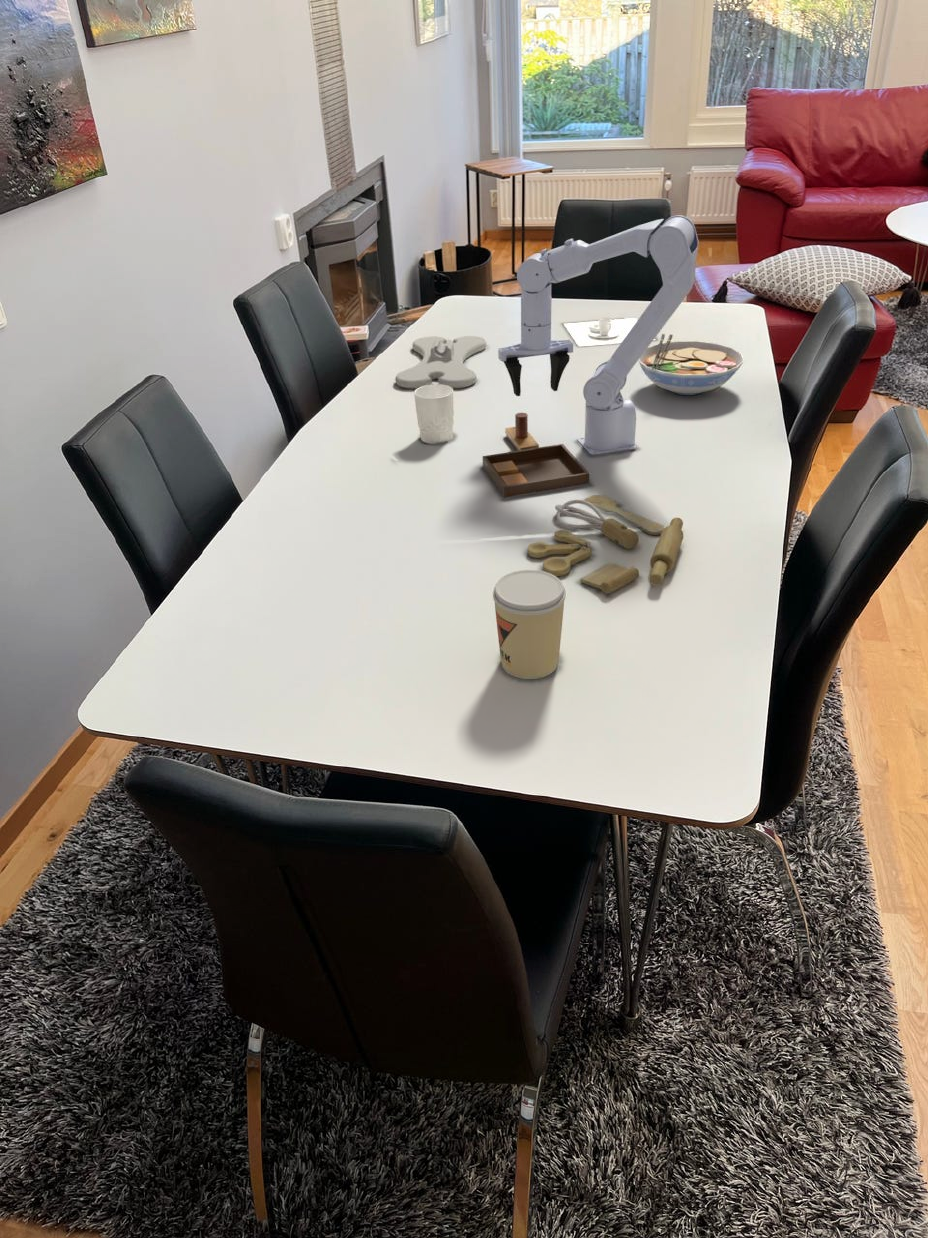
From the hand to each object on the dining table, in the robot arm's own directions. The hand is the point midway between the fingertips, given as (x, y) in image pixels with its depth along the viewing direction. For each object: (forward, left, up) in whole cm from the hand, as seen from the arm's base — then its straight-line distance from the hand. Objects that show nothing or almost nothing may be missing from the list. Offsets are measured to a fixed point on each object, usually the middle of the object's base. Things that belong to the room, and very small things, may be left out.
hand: (535, 391), depth 181 cm
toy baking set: (+3, +44, -10) cm, 45 cm away
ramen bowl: (-40, -14, -10) cm, 44 cm away
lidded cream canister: (+25, +71, -10) cm, 76 cm away
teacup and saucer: (-40, -60, -10) cm, 73 cm away
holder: (+7, -51, -10) cm, 53 cm away
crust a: (+11, +14, -9) cm, 20 cm away
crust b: (+11, +20, -9) cm, 24 cm away
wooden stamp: (+4, +3, -10) cm, 11 cm away
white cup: (+19, -8, -10) cm, 23 cm away
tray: (+6, +17, -10) cm, 20 cm away
